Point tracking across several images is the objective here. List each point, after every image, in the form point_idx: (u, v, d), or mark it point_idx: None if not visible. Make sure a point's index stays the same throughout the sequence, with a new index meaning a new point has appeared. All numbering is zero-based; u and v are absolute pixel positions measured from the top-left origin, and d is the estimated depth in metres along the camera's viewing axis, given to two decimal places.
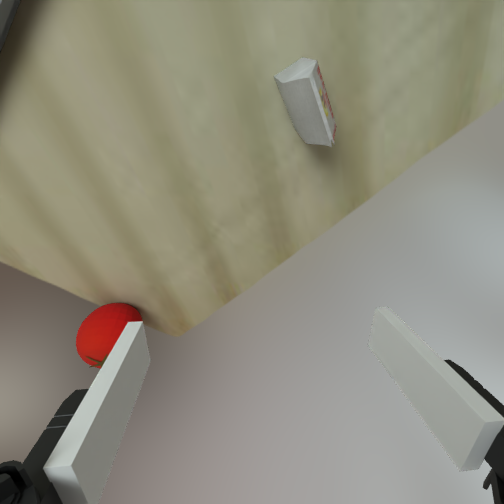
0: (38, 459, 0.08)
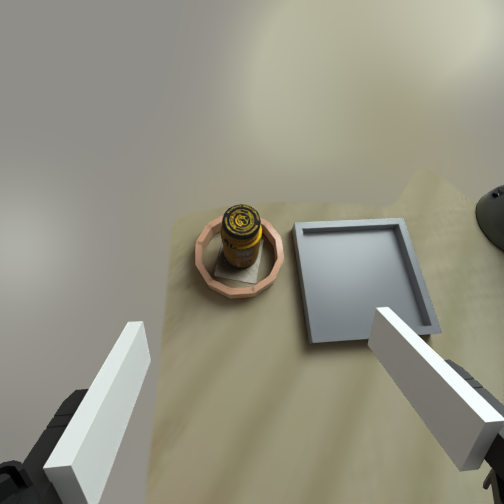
0: (38, 459, 0.08)
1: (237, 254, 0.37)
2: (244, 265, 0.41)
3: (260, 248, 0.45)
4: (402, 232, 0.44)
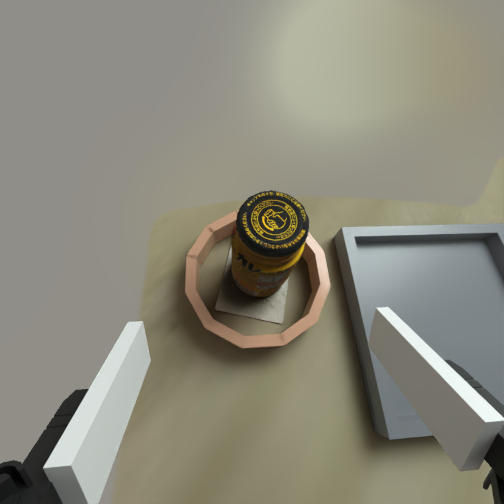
0: (39, 459, 0.08)
1: (258, 281, 0.21)
2: (265, 294, 0.26)
3: None
4: None
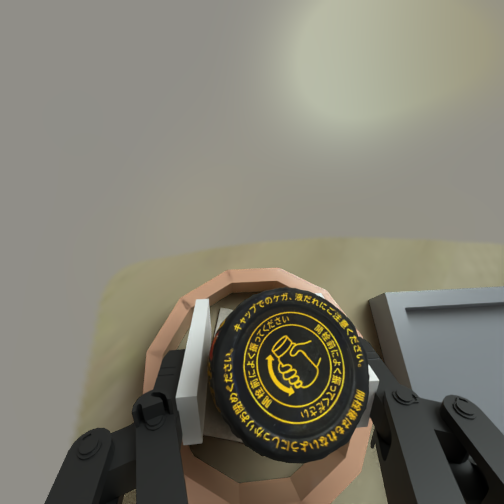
0: None
1: None
2: None
3: None
4: None
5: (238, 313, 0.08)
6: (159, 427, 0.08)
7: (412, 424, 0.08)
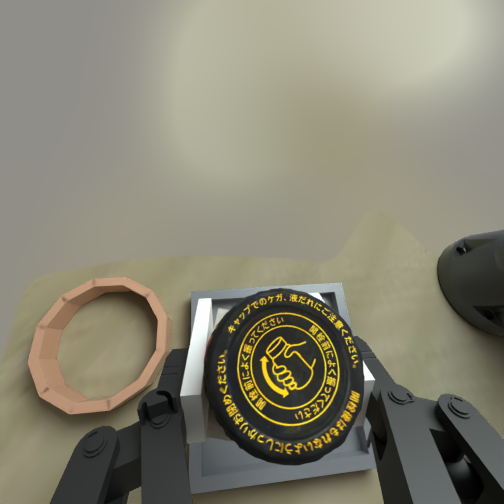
0: None
1: None
2: None
3: None
4: (339, 303, 0.33)
5: (232, 314, 0.08)
6: (164, 425, 0.08)
7: (407, 423, 0.08)
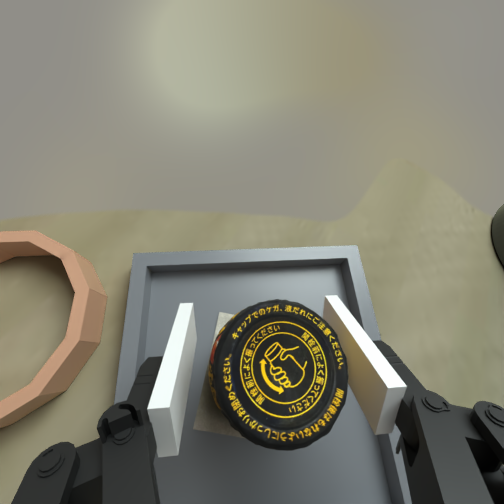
0: None
1: None
2: None
3: None
4: (354, 274, 0.22)
5: (235, 323, 0.10)
6: (128, 440, 0.08)
7: (442, 431, 0.08)
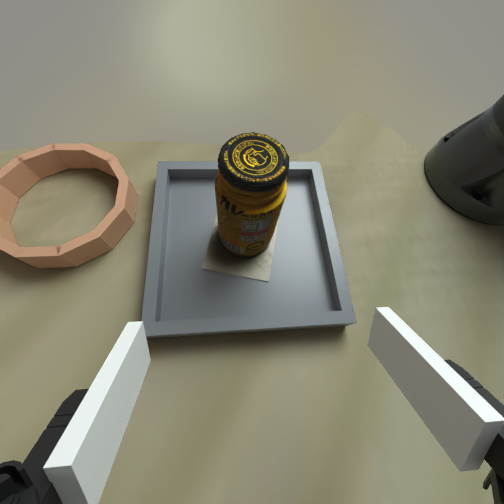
0: (39, 459, 0.08)
1: (243, 228, 0.21)
2: (251, 251, 0.26)
3: (274, 228, 0.29)
4: (316, 179, 0.31)
5: (230, 139, 0.18)
6: None
7: None
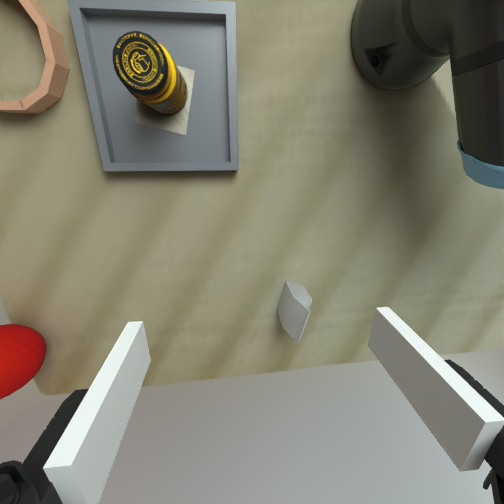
0: (38, 460, 0.08)
1: (151, 106, 0.30)
2: (169, 112, 0.35)
3: (190, 85, 0.35)
4: (228, 30, 0.32)
5: (118, 40, 0.23)
6: None
7: None
